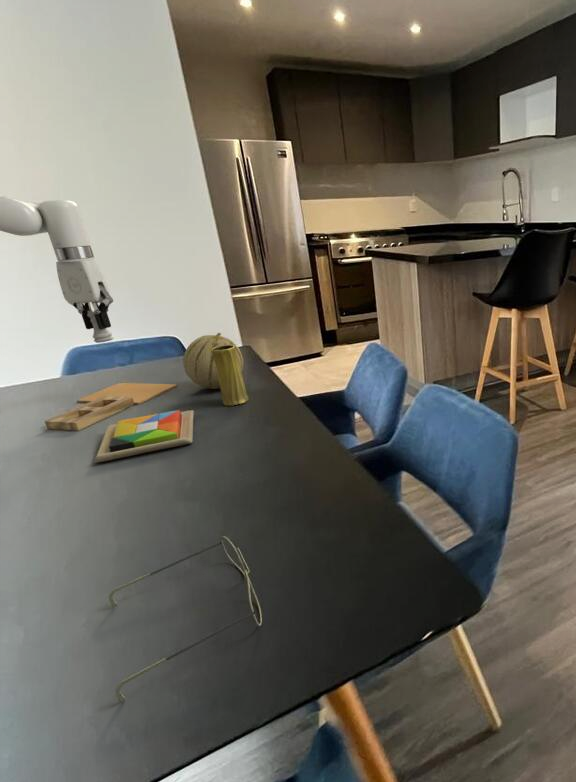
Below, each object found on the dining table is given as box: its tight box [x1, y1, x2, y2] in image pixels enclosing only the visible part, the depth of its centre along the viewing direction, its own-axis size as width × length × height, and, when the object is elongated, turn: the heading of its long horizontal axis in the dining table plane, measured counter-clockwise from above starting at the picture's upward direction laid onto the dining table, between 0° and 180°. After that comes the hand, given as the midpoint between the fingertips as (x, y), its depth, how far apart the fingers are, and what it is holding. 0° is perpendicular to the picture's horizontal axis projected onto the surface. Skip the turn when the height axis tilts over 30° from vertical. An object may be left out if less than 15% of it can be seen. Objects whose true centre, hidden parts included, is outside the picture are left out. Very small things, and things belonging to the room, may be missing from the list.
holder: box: [44, 396, 135, 432], centre depth 121 cm, size 9×16×2 cm, turn 167°
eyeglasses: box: [108, 535, 263, 704], centre depth 57 cm, size 16×15×5 cm
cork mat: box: [76, 382, 178, 405], centre depth 136 cm, size 20×14×1 cm
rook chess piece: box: [87, 309, 114, 344], centre depth 128 cm, size 4×4×8 cm
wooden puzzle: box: [93, 409, 195, 464], centre depth 106 cm, size 18×19×4 cm
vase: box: [212, 345, 250, 407], centre depth 122 cm, size 6×6×14 cm
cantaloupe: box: [182, 332, 244, 390], centre depth 134 cm, size 15×15×15 cm
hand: (98, 327), depth 128 cm, fingers closed on rook chess piece, 3 cm apart
